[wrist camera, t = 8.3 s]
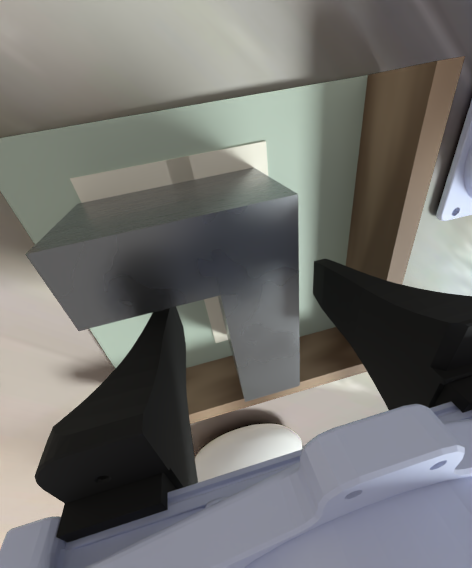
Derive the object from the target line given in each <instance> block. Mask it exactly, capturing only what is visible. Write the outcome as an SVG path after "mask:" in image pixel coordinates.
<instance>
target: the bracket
mask: <svg viewBox="0 0 472 568" xmlns="http://www.w3.org/2000/svg"><path fill="white" fill-rule="evenodd" d="M26 256H27V257H28V259H29V260H30V262H31V263H32V264H33V266H34V267H35V269H36V270H37V272H38V273H39V275H40V276H41V277H42V279H43V280H44V282H45V283H46V285H47V286H48V288H49V289H50V290H51V292H52V293H53V295H54V296H55V298H56V299H57V300H58V302H59V303H60V305H61V306H62V308H63V309H64V311H65V312H66V313H67V315H68V316H69V318H70V319H71V321H72V322H73V324H74V325H75V326H76V328H77V329H78V331H81V330H85V329H89V328H93V327H97V326H101V325H105V324H109V323H113V322H117V321H121V320H125V319H129V318H133V317H137V316H140V315H144V314H148V313H152V312H156V311H160V310H164V309H168V308H172V307H176V306H180V305H184V304H188V303H192V302H196V301H200V300H204V299H208V298H212V297H216V296H218V299H219V304H220V308H221V312H222V316H223V321H224V325H225V329H226V333H227V337H228V341H229V345H230V348H231V352H232V356H233V359H234V363H235V367H236V370H237V374H238V378H239V382H240V385H241V389H242V393H243V396H244V400H245V402H247V401H250V400H254V399H257V398H260V397H264V396H267V395H271V394H274V393H277V392H281V391H284V390H287V389H291V388H294V387H297V386H300V341H299V227H298V194H297V193H295V192H294V191H292V190H290V189H289V188H287V187H285V186H284V185H282V184H280V183H279V182H277V181H275V180H274V179H272V178H270V177H269V176H267V175H265V174H264V173H262V172H260V171H259V170H257V169H255V168H249V169H244V170H239V171H234V172H229V173H225V174H220V175H215V176H210V177H205V178H200V179H195V180H191V181H186V182H181V183H176V184H171V185H166V186H161V187H157V188H152V189H147V190H142V191H137V192H132V193H127V194H123V195H118V196H113V197H108V198H103V199H98V200H93V201H89V202H84V203H79V204H77V205H76V206H75V207H74V208H73V209H71V210H70V211H69V212H68V213H67V214H66V215H65V216H64V217H63V218H62V219H61V220H60V221H59V222H58V223H57V224H56V225H55V226H54V227H53V228H52V229H51V230H50V231H49V232H48V233H47V234H46V235H45V236H44V237H43V238H42V239H41V240H40V241H39V242H38V243H37V244H36V245H34V246H33V247H32V248H31V249H30V250H29V251H28V252H27V253H26Z"/></svg>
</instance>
